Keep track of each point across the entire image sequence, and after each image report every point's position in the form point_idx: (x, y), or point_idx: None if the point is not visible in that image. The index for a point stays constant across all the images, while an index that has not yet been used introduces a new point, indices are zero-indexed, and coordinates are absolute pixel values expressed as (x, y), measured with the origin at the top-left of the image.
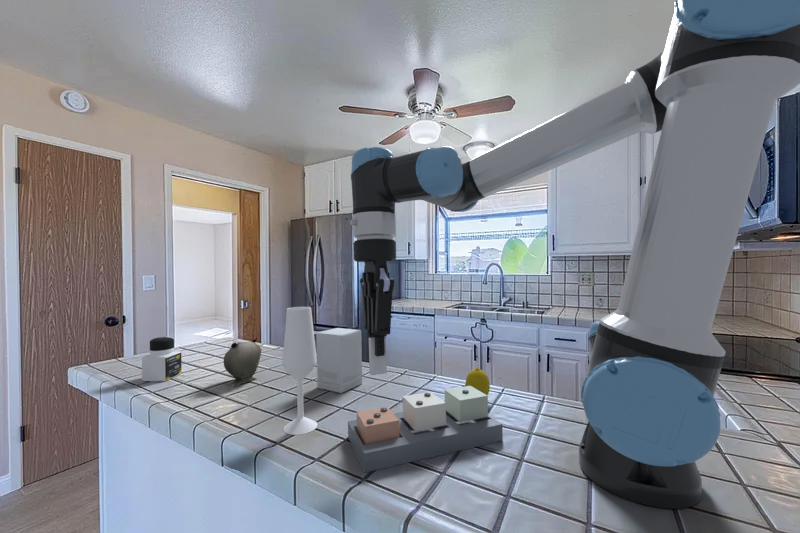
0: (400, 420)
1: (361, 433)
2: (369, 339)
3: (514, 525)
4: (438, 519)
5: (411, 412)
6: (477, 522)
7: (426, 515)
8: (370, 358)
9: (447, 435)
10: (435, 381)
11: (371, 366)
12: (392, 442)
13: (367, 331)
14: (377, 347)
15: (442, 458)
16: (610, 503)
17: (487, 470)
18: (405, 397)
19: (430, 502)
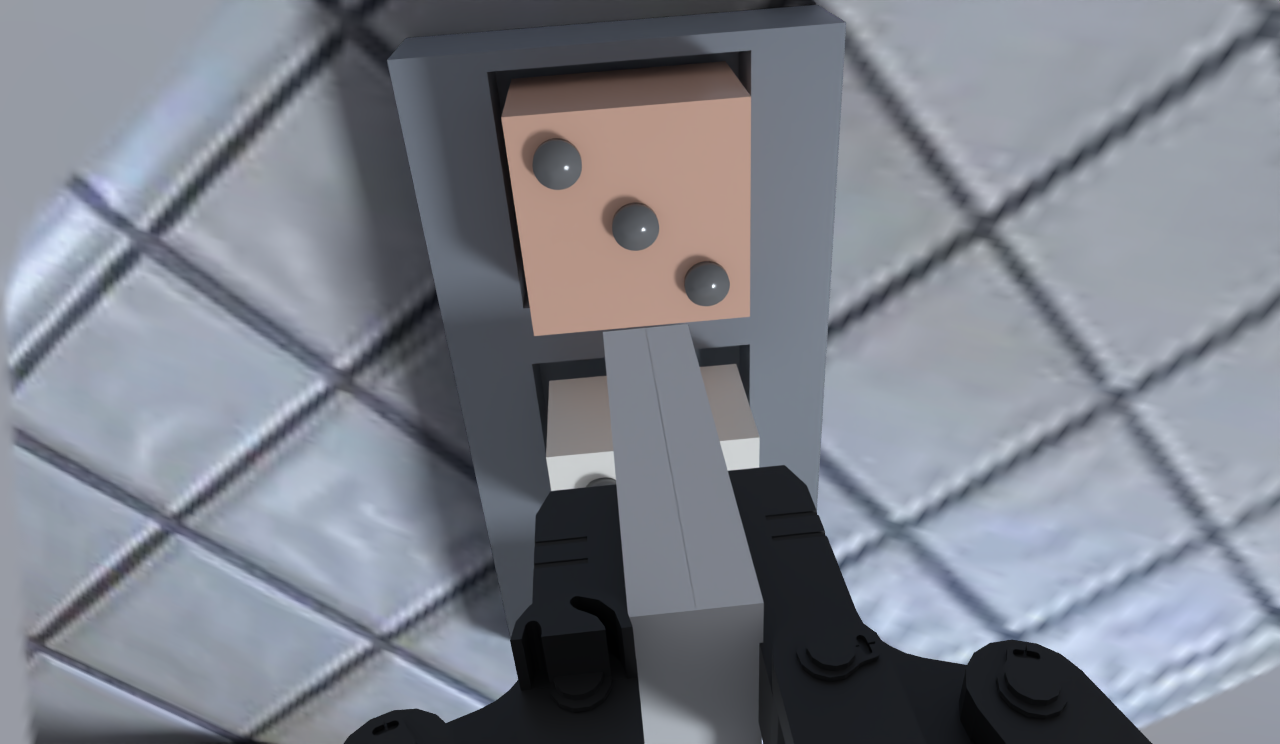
0: (720, 341)
1: (606, 85)
2: (706, 574)
3: (20, 481)
4: (42, 271)
5: (606, 422)
6: (30, 388)
7: (65, 236)
8: (648, 417)
9: (482, 496)
10: (1240, 623)
11: (609, 375)
12: (476, 241)
13: (837, 648)
14: (533, 577)
15: (453, 413)
16: (125, 726)
17: (335, 527)
18: (733, 447)
19: (147, 275)
